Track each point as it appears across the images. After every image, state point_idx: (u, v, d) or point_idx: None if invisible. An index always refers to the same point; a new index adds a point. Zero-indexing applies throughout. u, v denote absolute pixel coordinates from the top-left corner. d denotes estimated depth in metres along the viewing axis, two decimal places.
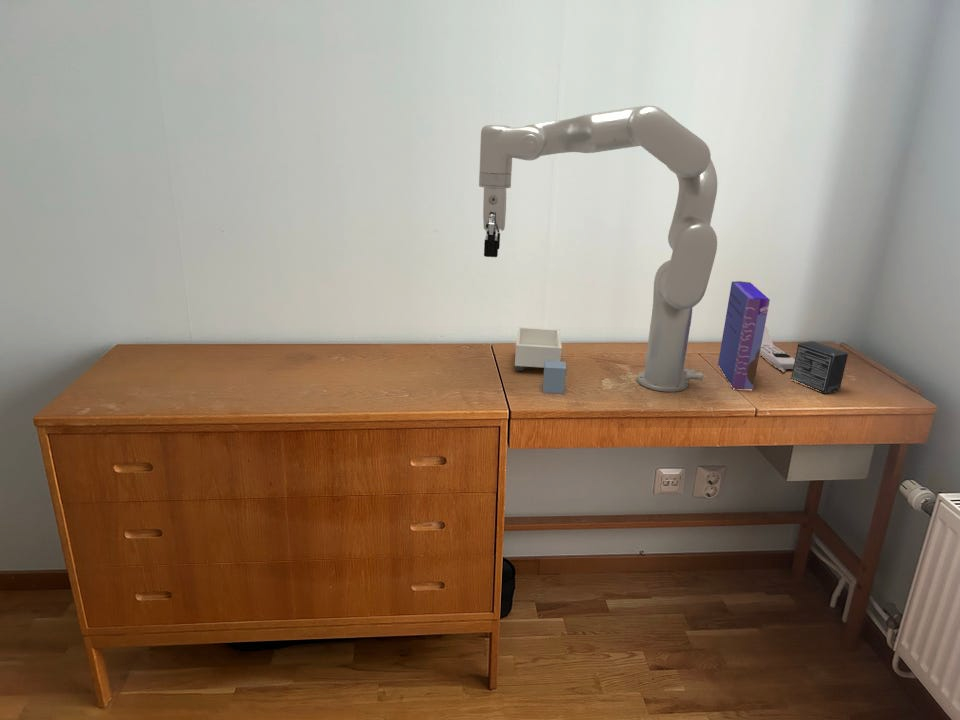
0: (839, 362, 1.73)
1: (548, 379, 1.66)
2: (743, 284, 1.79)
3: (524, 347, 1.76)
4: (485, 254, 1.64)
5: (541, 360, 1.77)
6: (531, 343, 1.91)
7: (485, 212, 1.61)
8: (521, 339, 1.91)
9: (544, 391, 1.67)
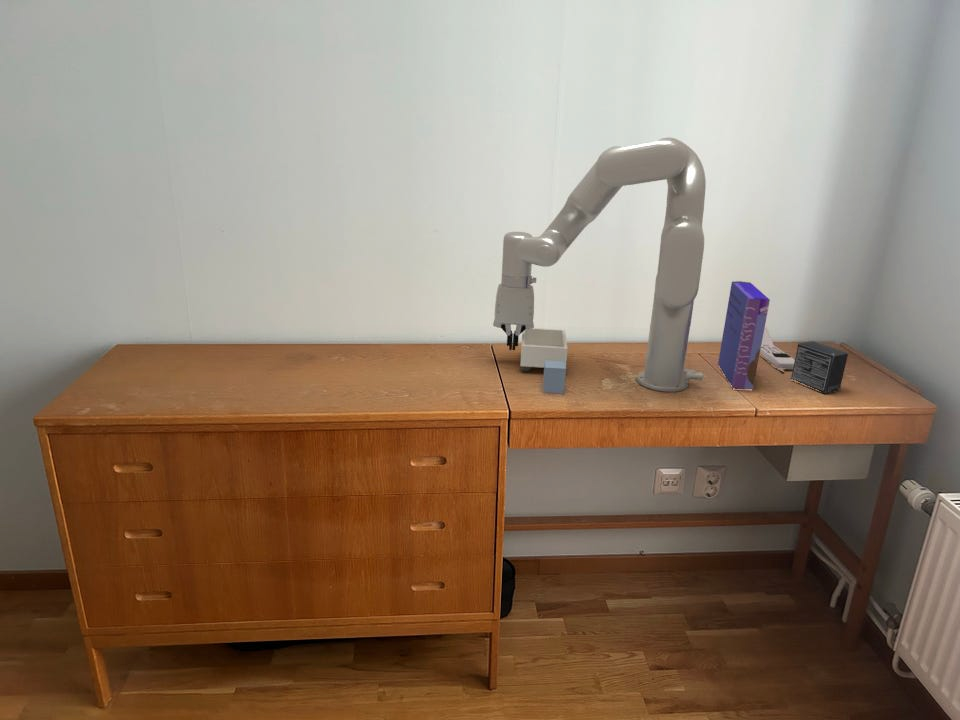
0: (839, 362, 1.73)
1: (548, 379, 1.66)
2: (743, 284, 1.79)
3: (530, 347, 1.76)
4: None
5: None
6: (536, 343, 1.91)
7: (533, 309, 1.79)
8: (526, 339, 1.91)
9: (544, 391, 1.67)
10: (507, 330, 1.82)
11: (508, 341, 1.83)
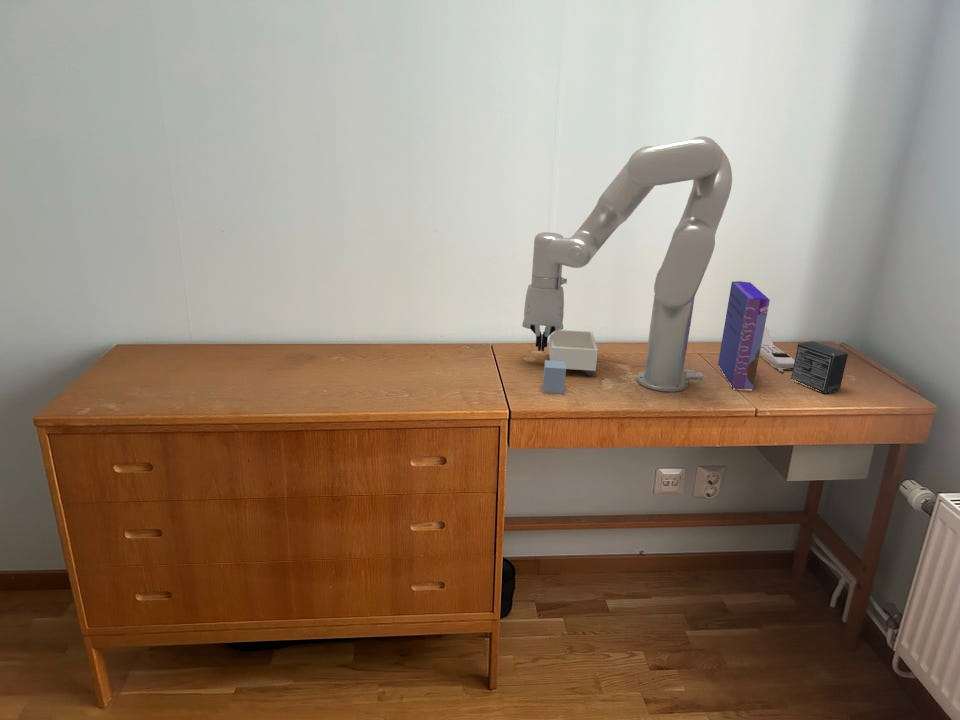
0: (839, 362, 1.73)
1: (548, 379, 1.66)
2: (743, 284, 1.79)
3: (560, 349, 1.76)
4: None
5: (577, 362, 1.76)
6: (564, 345, 1.91)
7: (563, 310, 1.78)
8: (554, 341, 1.90)
9: (544, 391, 1.67)
10: (536, 331, 1.81)
11: (537, 342, 1.83)
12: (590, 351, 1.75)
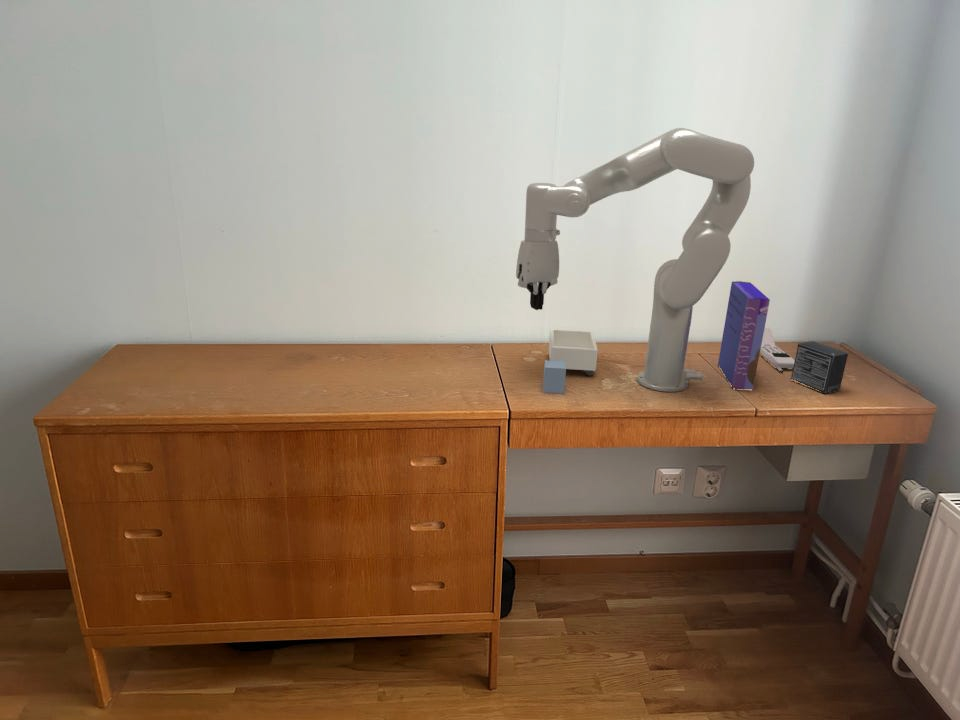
0: (839, 362, 1.73)
1: (548, 379, 1.66)
2: (743, 284, 1.79)
3: (560, 349, 1.76)
4: None
5: (577, 362, 1.76)
6: (564, 345, 1.91)
7: None
8: (554, 341, 1.90)
9: (544, 391, 1.67)
10: (535, 289, 1.72)
11: (534, 301, 1.73)
12: (590, 351, 1.75)
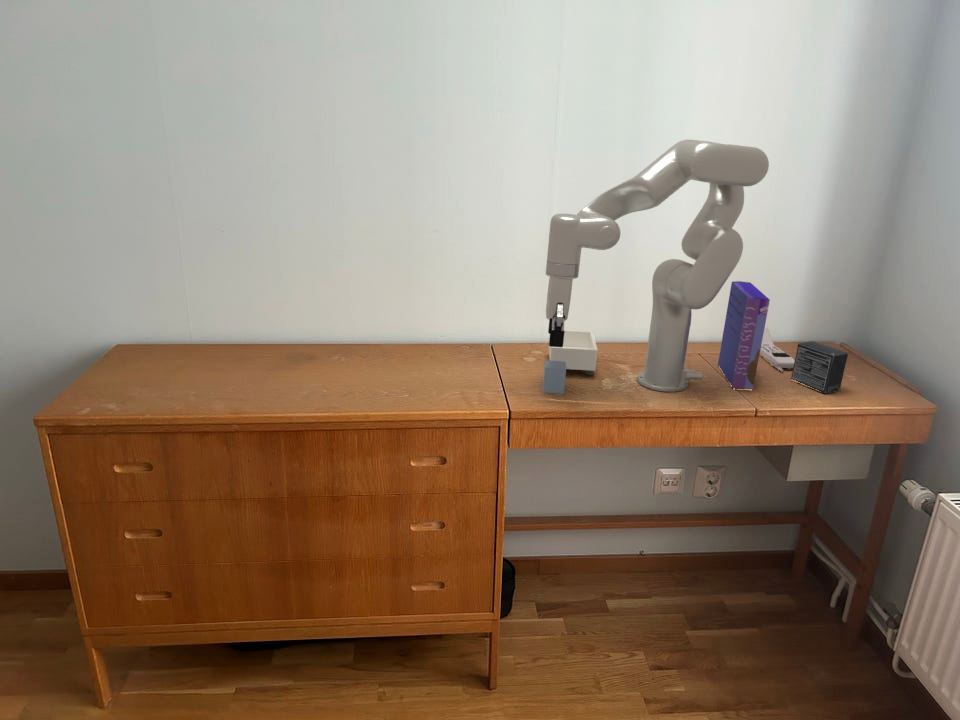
0: (839, 362, 1.73)
1: (548, 379, 1.66)
2: (743, 284, 1.79)
3: (560, 349, 1.76)
4: None
5: (577, 362, 1.76)
6: (564, 345, 1.91)
7: None
8: None
9: (544, 391, 1.67)
10: None
11: (560, 338, 1.59)
12: (590, 351, 1.75)
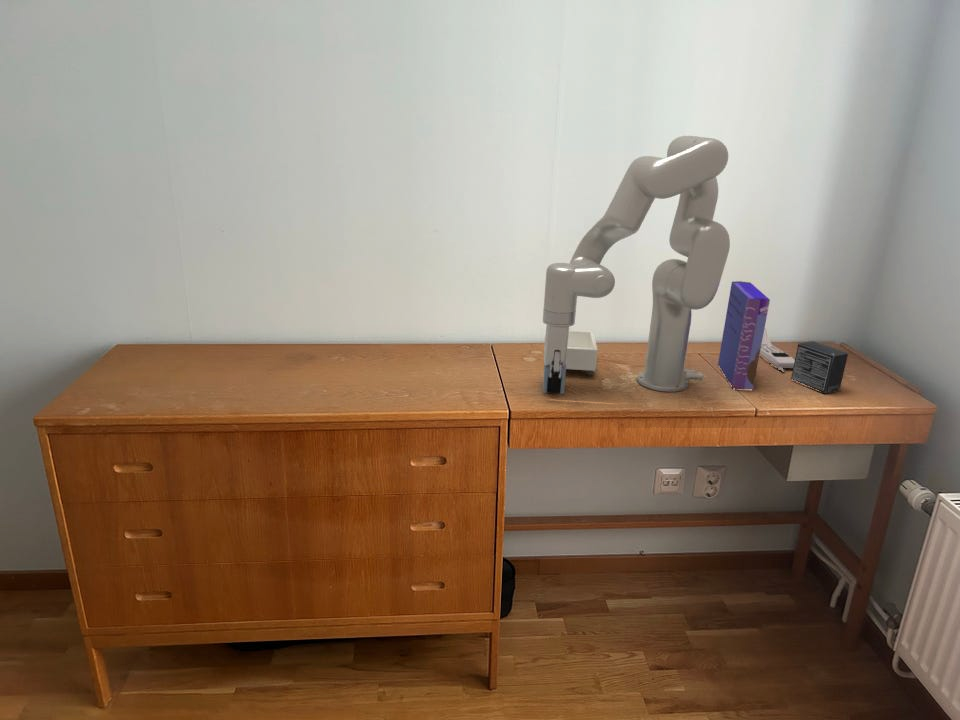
0: (839, 362, 1.73)
1: None
2: (743, 284, 1.79)
3: None
4: None
5: (577, 362, 1.76)
6: None
7: None
8: None
9: (544, 391, 1.67)
10: None
11: (557, 385, 1.65)
12: (590, 351, 1.75)
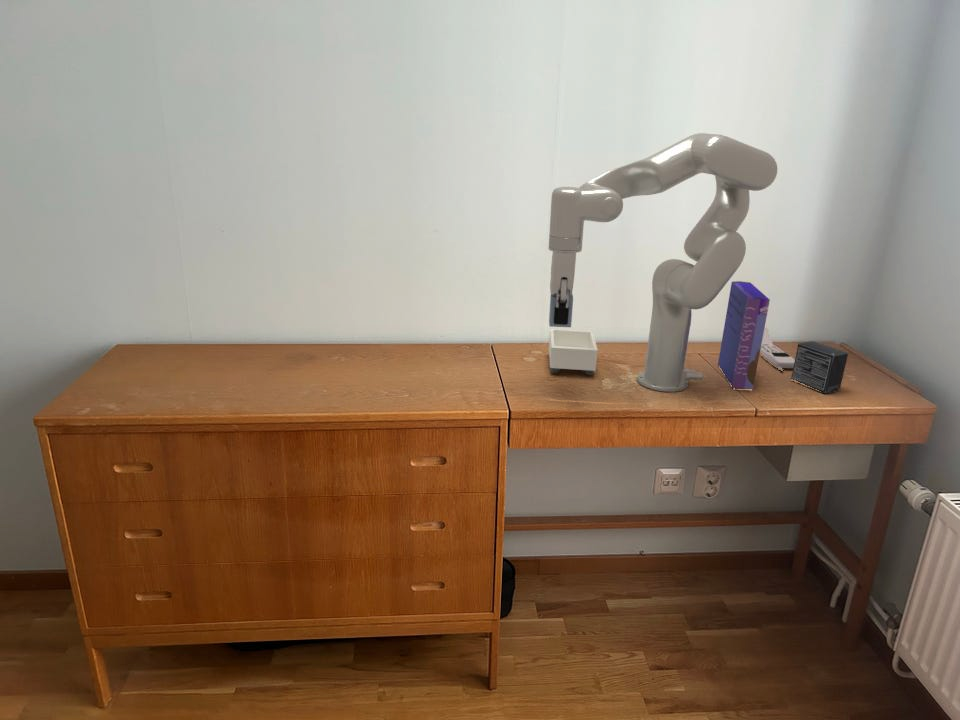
0: (839, 362, 1.73)
1: None
2: (743, 284, 1.79)
3: (560, 349, 1.76)
4: None
5: (577, 362, 1.76)
6: (564, 345, 1.91)
7: None
8: (554, 341, 1.90)
9: (550, 323, 1.61)
10: None
11: (564, 315, 1.60)
12: (590, 351, 1.75)
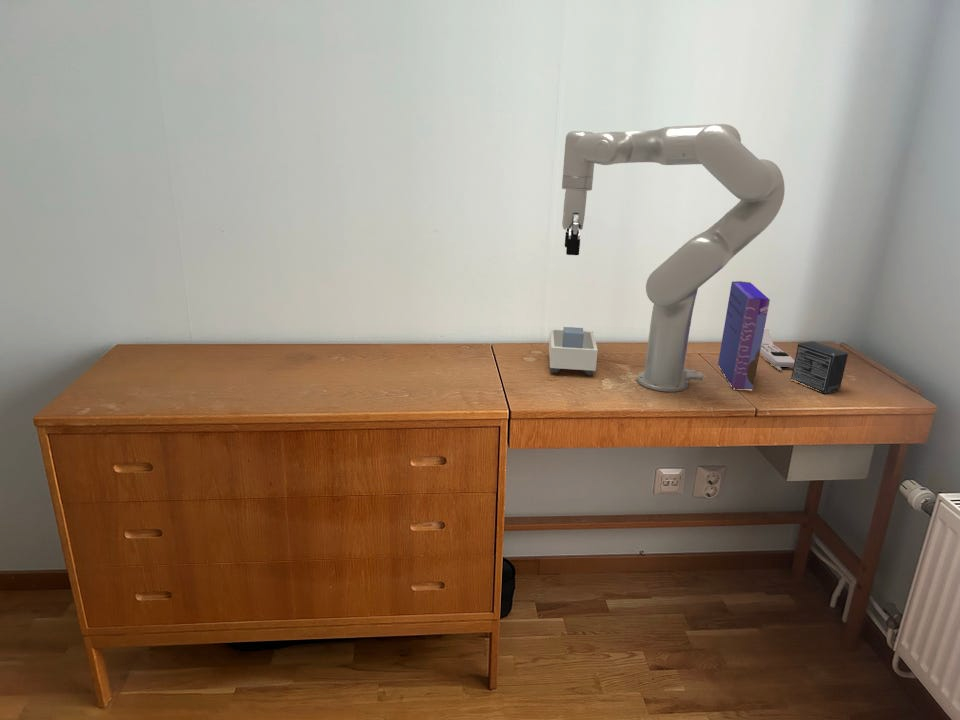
0: (839, 362, 1.73)
1: (567, 343, 1.80)
2: (743, 284, 1.79)
3: (560, 349, 1.76)
4: None
5: (577, 362, 1.76)
6: None
7: None
8: (554, 341, 1.90)
9: None
10: (579, 234, 1.73)
11: (576, 246, 1.74)
12: (590, 351, 1.75)
